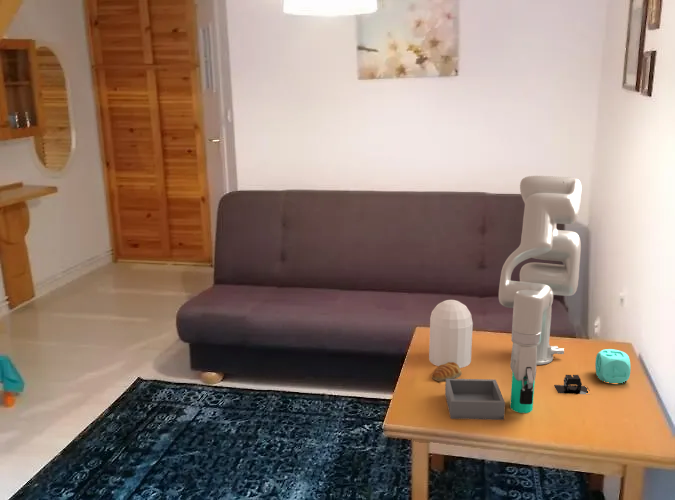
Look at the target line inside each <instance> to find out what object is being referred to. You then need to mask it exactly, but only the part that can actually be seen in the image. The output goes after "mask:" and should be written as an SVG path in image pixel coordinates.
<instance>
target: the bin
mask: <svg viewBox="0 0 675 500" xmlns="http://www.w3.org/2000/svg"><path fill="white" fill-rule="evenodd" d="M444 390H445V392H444V395H445V400H446V404H447V408H448V409H447V410H448V412H449V417H450V419H451V420H453V419H455V420H489V421H491V420H492V421H493V420H496V421H497V420H499V421H500V420H501V421H502V420H503V421H504V420H505V412H506V411H505V410H506V401H505V399H504V397H503V395H502V392H501V389H500V387H499V385H498V382H497V379H490V378H489V379H484V378H481V379H480V378H455V379H446V381H445V389H444Z"/></svg>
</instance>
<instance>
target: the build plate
mask: <svg viewBox="0 0 675 500" xmlns="http://www.w3.org/2000/svg"><path fill="white" fill-rule="evenodd" d="M585 386H586V385H583V383H582V379H581V377H580V375H579V374H573V375H572V374H565V377H563V385H562V384H561V385H560V384H554V385H553V387H554V388H555V390H556V392H557V394H566V395H567V394H568V395H570V394H571V395H587V394H586V393H588V391H587V388H588V387H587V388H586V387H585Z"/></svg>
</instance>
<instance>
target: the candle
mask: <svg viewBox="0 0 675 500" xmlns="http://www.w3.org/2000/svg"><path fill="white" fill-rule="evenodd" d="M523 379H527V377H524V378H523ZM535 380H536V379H535ZM535 380H534V381H533V382H534V383H533V398H534V395H535V385H536V384H535V383H536V381H535ZM526 384H527V382H524V385H526ZM521 389H522V385H521V380H519V381H517V380H516V378H515V377H514V373H513V372H512V371H511V390H510V402H509V406H510V407H509V408H510V409H511V410H512V411H514V412H516V413H520V414H527V413H531V412H532V411H533V409H534V399H533V400H532V404H520V390H521Z"/></svg>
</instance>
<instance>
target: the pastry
mask: <svg viewBox="0 0 675 500" xmlns="http://www.w3.org/2000/svg"><path fill="white" fill-rule="evenodd" d="M461 375H462V371H461V368H459V366H458V364H456V363H454V362H448V363H446V364H443V365H440V366H437V367H436V368H435V369H434V370H433V371H432V374H431V376H432V377H431V378H432V380H435V381H439V382H446V379H459V378H460V376H461Z"/></svg>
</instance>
